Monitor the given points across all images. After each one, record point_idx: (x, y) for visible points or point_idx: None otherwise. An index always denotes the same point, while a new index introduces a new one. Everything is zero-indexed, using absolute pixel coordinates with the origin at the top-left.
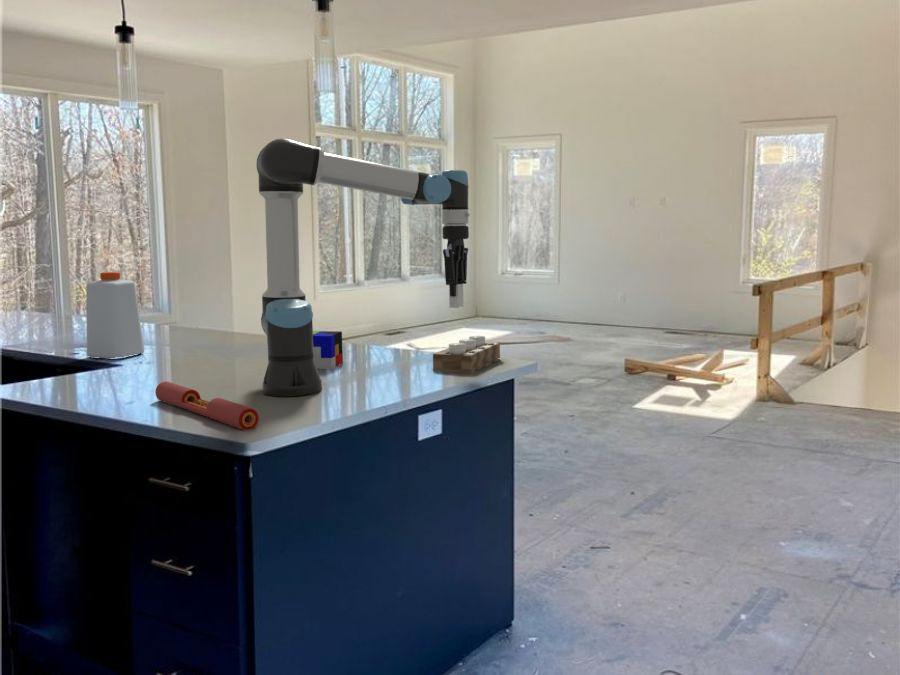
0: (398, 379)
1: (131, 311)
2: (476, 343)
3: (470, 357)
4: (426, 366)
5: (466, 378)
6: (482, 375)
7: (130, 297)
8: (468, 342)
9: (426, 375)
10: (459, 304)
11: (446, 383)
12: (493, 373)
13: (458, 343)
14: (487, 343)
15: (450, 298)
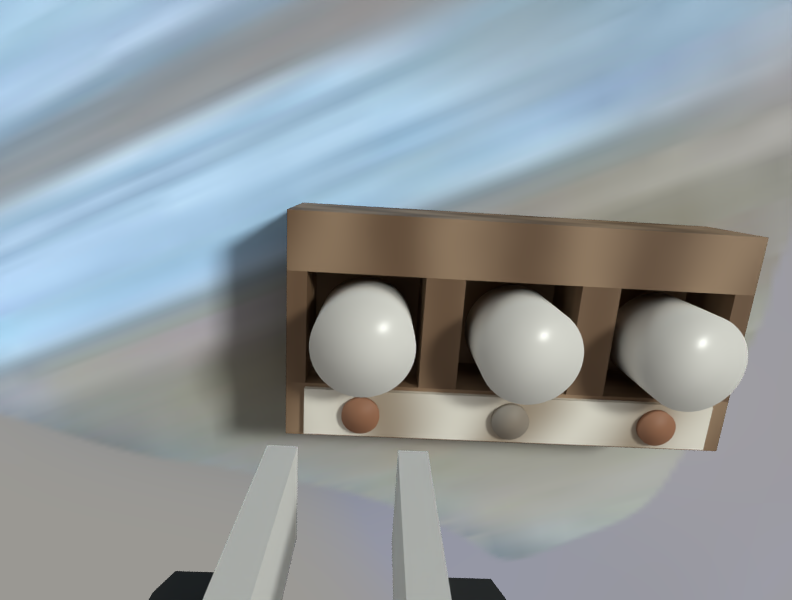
0: (32, 116)
1: None
2: (628, 362)
3: (287, 425)
4: (411, 119)
5: (184, 409)
6: None
7: None
8: (482, 376)
9: (181, 214)
10: (395, 526)
11: (49, 367)
12: (329, 476)
13: (399, 344)
14: None
15: (238, 529)
